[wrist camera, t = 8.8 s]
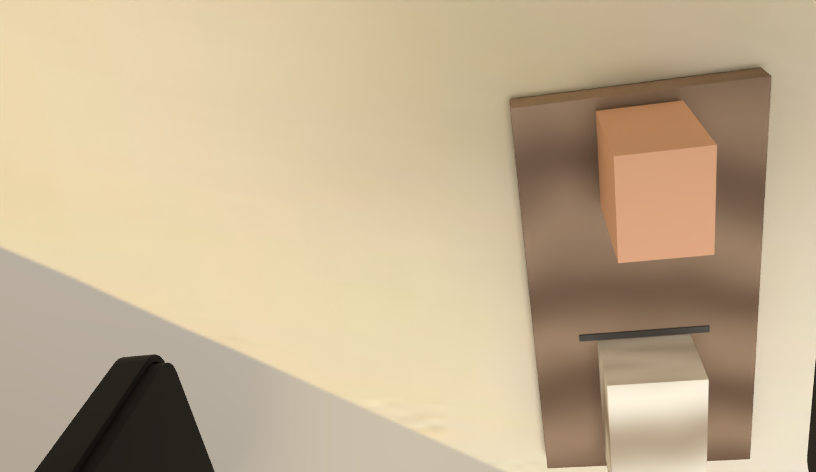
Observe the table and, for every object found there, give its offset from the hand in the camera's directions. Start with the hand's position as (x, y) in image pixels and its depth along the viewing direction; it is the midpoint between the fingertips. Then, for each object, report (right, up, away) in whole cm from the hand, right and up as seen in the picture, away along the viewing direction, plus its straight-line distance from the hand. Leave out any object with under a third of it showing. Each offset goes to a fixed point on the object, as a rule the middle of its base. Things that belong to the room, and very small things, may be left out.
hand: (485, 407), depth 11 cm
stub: (+10, +6, +25) cm, 28 cm away
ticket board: (+12, 0, +31) cm, 33 cm away
